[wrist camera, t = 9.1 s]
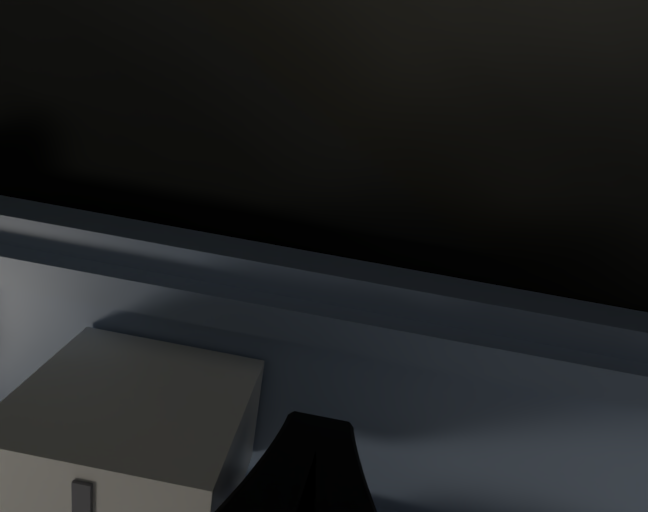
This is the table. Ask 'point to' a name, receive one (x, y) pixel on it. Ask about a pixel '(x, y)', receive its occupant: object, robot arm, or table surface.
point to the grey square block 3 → (128, 428)
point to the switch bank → (358, 356)
